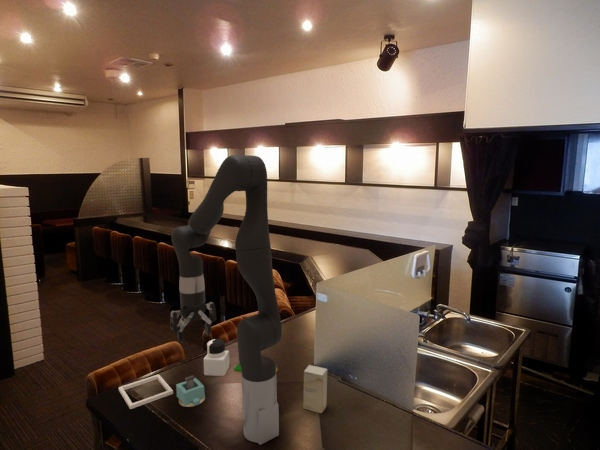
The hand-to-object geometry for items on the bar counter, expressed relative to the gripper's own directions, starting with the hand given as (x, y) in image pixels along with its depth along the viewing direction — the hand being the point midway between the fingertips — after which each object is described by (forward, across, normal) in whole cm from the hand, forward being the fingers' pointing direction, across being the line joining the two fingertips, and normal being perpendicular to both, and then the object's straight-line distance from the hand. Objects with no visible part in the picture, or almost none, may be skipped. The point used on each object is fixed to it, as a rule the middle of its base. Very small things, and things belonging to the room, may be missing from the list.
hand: (194, 338), depth 125 cm
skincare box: (+19, +25, -29) cm, 43 cm away
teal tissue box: (+17, -4, -3) cm, 18 cm away
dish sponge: (+19, +22, 0) cm, 29 cm away
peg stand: (+18, -4, -4) cm, 19 cm away
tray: (+18, -14, +9) cm, 25 cm away
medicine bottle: (+19, +10, +7) cm, 23 cm away
